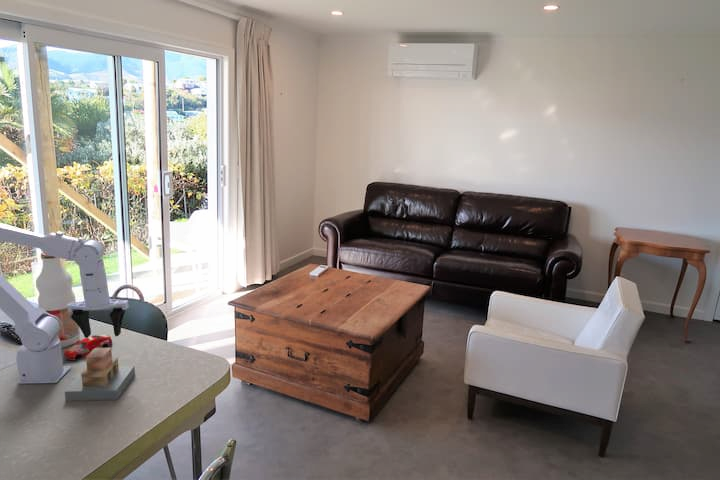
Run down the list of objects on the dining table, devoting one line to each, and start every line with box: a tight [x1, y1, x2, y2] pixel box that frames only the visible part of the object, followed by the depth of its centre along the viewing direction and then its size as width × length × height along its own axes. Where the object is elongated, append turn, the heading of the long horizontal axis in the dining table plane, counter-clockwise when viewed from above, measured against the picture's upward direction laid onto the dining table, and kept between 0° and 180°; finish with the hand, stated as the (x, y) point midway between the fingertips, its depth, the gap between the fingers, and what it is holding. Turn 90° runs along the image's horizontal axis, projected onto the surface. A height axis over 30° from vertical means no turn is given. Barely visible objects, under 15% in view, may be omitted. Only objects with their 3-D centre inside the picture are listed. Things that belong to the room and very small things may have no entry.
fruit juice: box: [35, 252, 81, 349], centre depth 144 cm, size 9×9×28 cm
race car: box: [63, 334, 113, 361], centre depth 142 cm, size 13×5×4 cm, turn 147°
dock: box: [64, 365, 136, 402], centre depth 124 cm, size 12×12×2 cm
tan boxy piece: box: [80, 356, 120, 386], centre depth 123 cm, size 6×8×4 cm
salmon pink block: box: [85, 347, 113, 370], centre depth 123 cm, size 4×5×4 cm
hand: (103, 335), depth 129 cm, fingers open, 7 cm apart
